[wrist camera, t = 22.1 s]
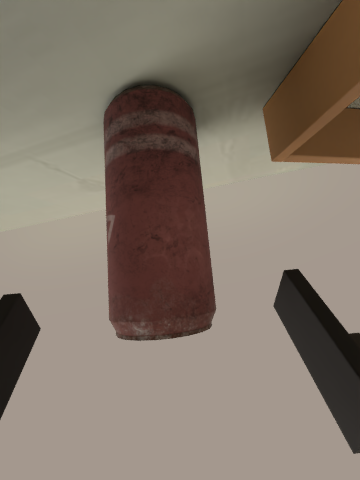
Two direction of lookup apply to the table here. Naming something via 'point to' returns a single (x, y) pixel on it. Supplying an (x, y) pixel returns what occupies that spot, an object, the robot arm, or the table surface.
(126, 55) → the table surface
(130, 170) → the can
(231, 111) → the table surface
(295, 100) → the wooden square frame
